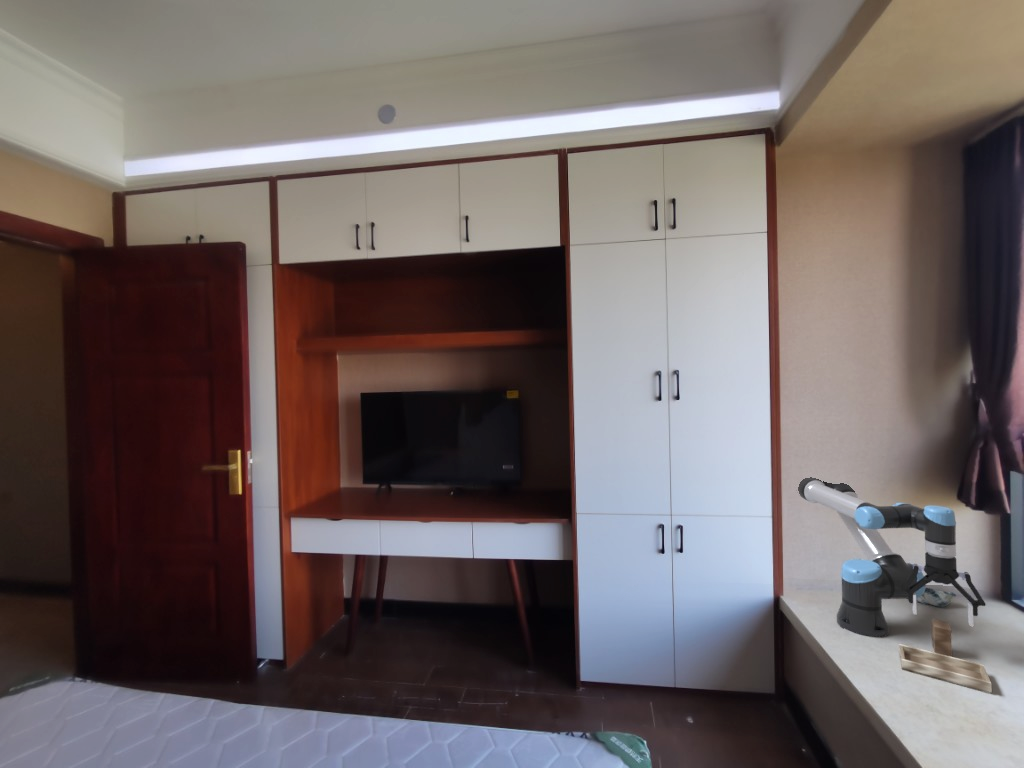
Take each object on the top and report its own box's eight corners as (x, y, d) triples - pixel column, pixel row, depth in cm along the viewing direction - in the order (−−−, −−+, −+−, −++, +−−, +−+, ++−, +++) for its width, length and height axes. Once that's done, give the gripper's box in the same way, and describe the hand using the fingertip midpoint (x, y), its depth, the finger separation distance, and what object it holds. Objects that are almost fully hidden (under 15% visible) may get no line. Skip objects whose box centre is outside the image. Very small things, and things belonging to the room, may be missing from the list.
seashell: (946, 594, 184) (910, 586, 188) (957, 592, 178) (919, 583, 182) (948, 611, 182) (911, 602, 185) (959, 610, 175) (921, 600, 179)
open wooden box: (902, 669, 143) (901, 659, 143) (899, 652, 152) (899, 643, 151) (991, 693, 131) (991, 683, 131) (983, 674, 140) (983, 664, 140)
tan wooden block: (934, 654, 151) (934, 626, 150) (932, 645, 155) (932, 618, 155) (951, 658, 148) (951, 630, 148) (948, 649, 153) (948, 622, 153)
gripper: (892, 550, 156) (893, 612, 156) (997, 566, 141) (999, 635, 141) (890, 543, 162) (892, 604, 162) (991, 558, 147) (993, 624, 147)
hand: (942, 618), depth 151 cm, fingers open, 13 cm apart
